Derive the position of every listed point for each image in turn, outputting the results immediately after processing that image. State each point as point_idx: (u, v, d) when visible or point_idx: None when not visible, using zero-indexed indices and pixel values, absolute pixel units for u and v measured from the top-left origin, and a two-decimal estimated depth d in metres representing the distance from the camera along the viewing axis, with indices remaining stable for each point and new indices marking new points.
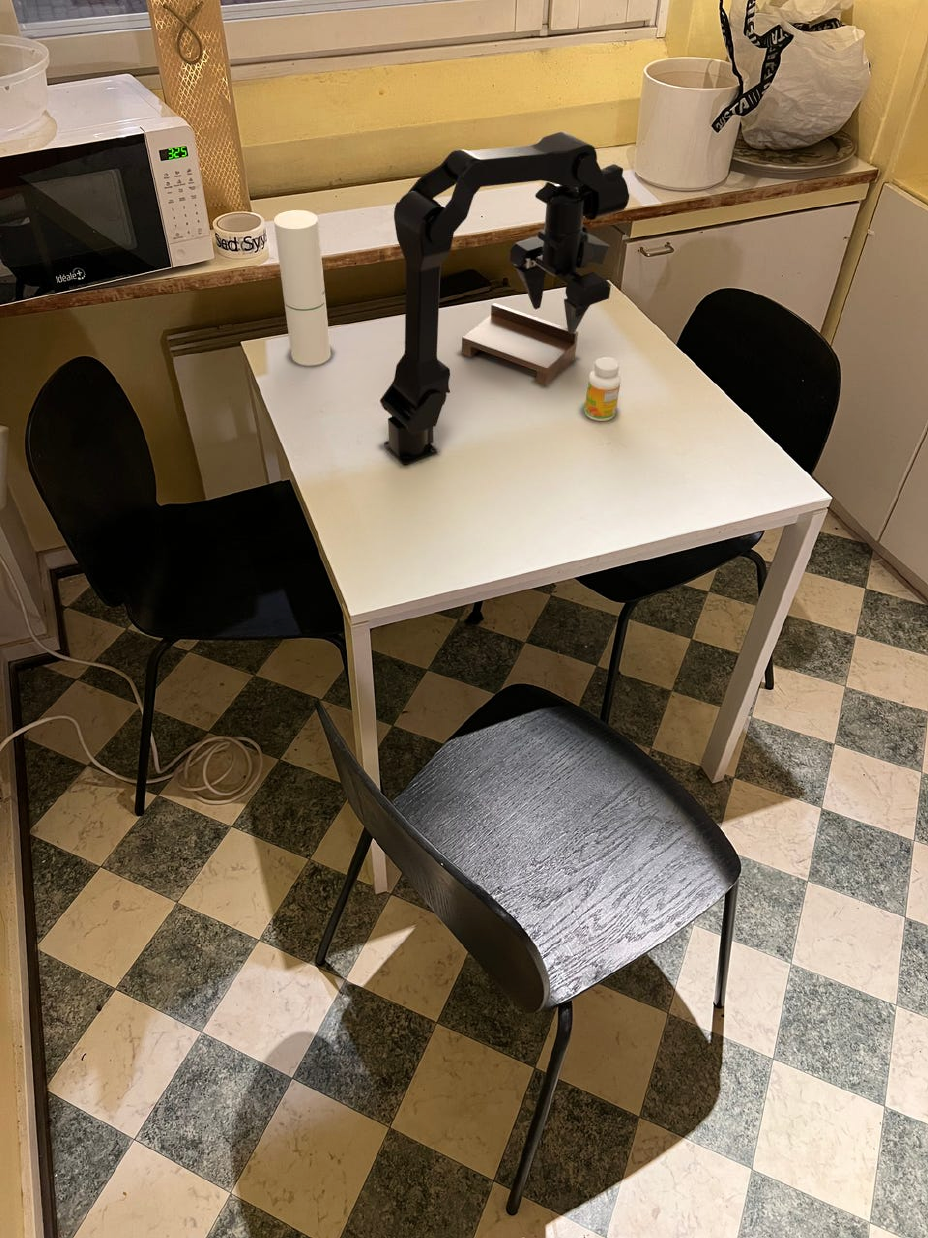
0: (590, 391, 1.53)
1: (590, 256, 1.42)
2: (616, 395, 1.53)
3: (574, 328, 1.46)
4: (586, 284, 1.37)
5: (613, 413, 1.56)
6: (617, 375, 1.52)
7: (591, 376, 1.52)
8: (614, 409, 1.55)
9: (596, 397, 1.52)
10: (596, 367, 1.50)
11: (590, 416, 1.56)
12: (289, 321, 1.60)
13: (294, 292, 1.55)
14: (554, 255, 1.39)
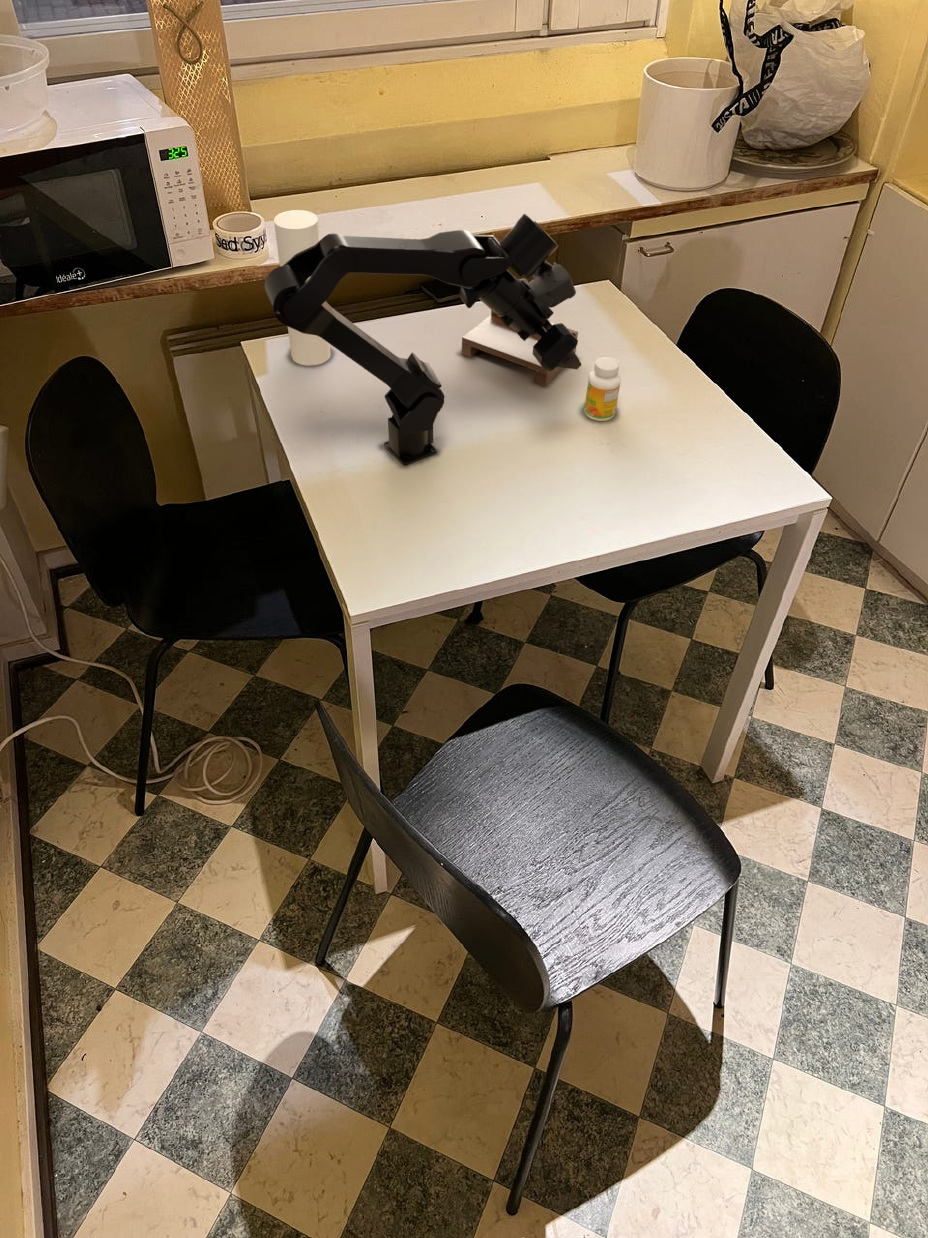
0: (590, 391, 1.53)
1: (550, 303, 1.35)
2: (616, 395, 1.53)
3: (577, 364, 1.42)
4: (544, 350, 1.34)
5: (613, 413, 1.56)
6: (617, 375, 1.52)
7: (591, 376, 1.52)
8: (614, 409, 1.55)
9: (596, 397, 1.52)
10: (596, 367, 1.50)
11: (590, 416, 1.56)
12: None
13: None
14: (513, 326, 1.37)
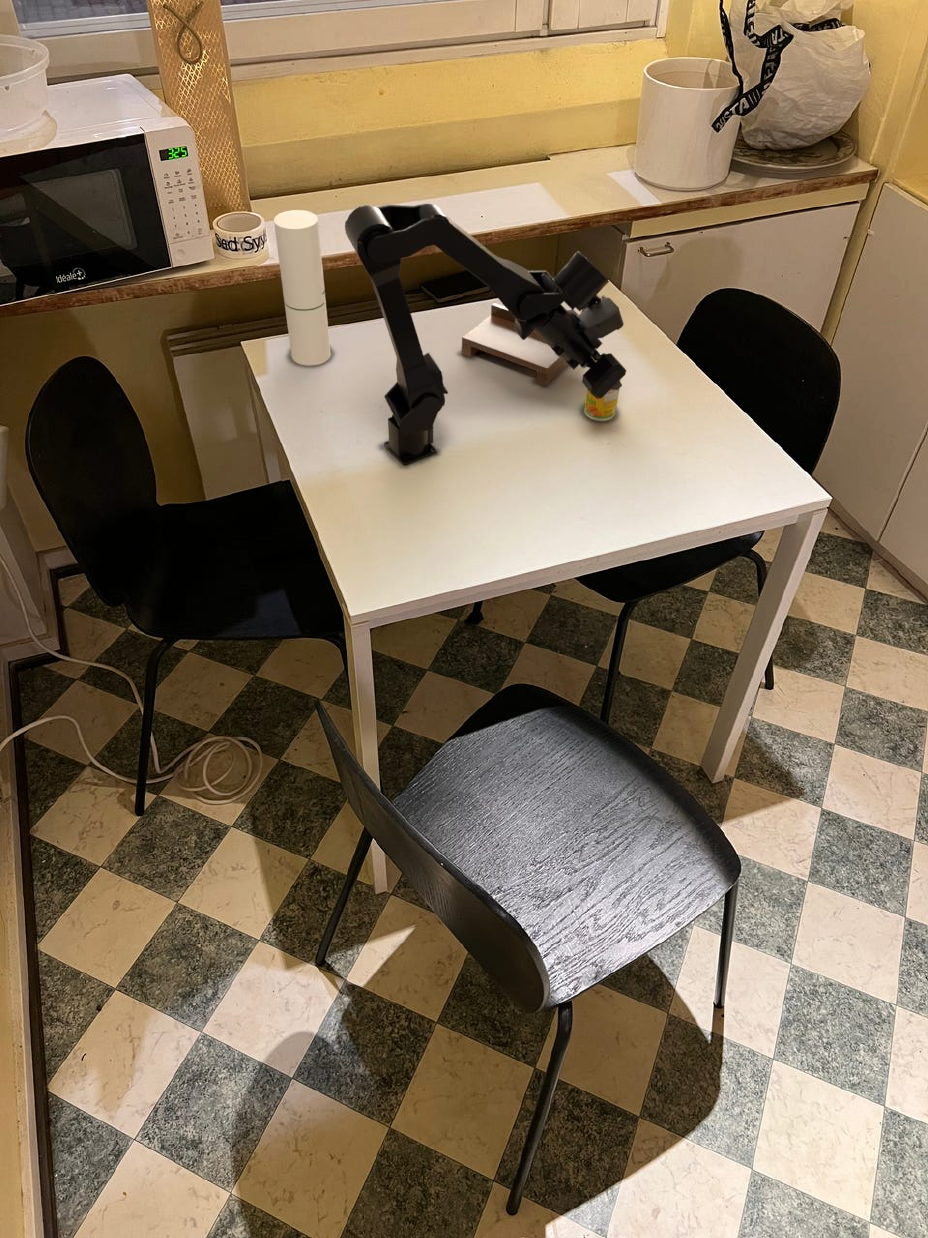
0: None
1: (599, 335, 1.42)
2: (616, 395, 1.53)
3: (617, 385, 1.50)
4: (594, 379, 1.41)
5: (613, 413, 1.56)
6: None
7: None
8: (614, 409, 1.55)
9: None
10: None
11: (590, 416, 1.56)
12: (289, 321, 1.60)
13: (294, 292, 1.55)
14: (563, 356, 1.45)
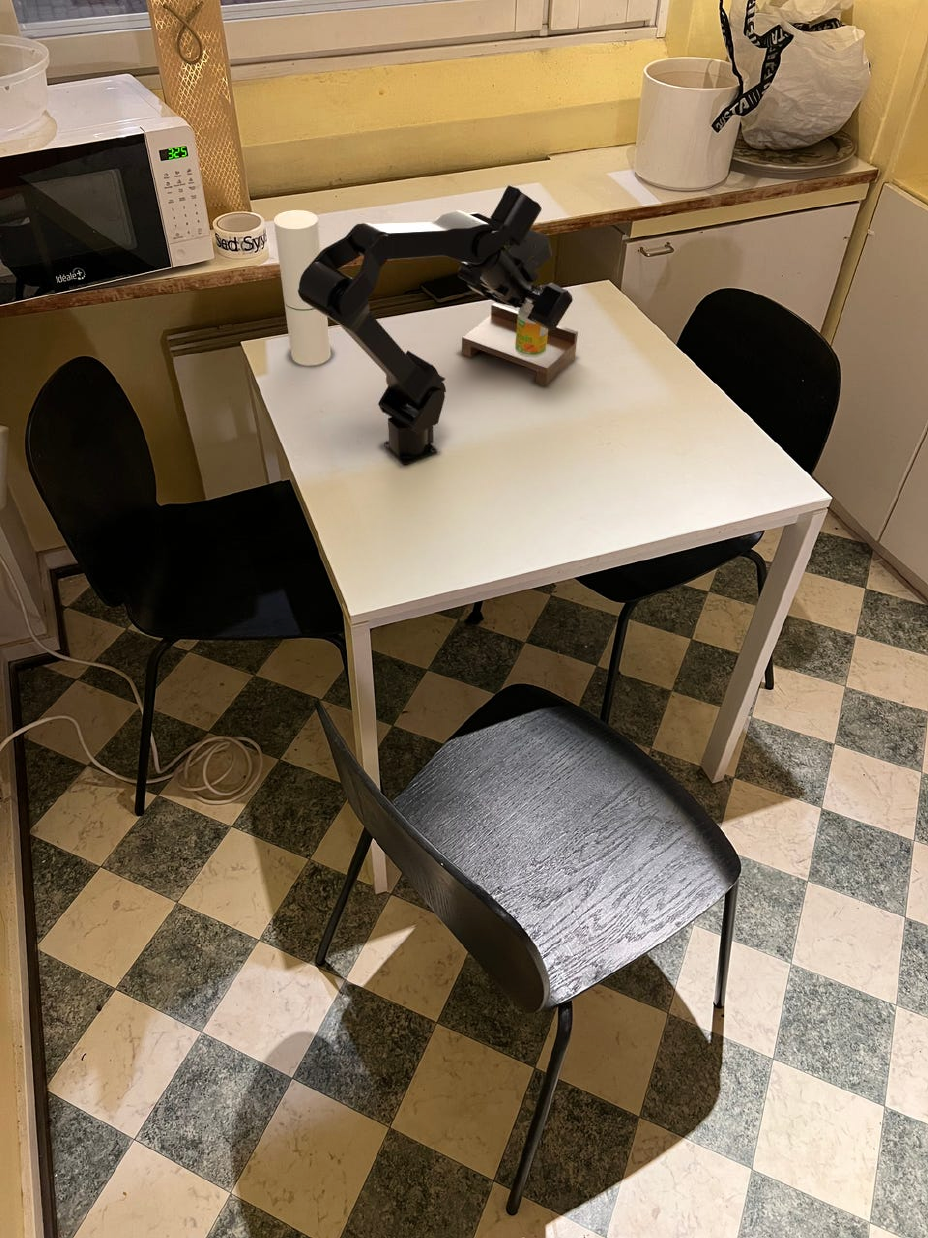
0: (524, 329, 1.53)
1: (536, 267, 1.42)
2: None
3: None
4: (546, 311, 1.41)
5: None
6: None
7: (522, 313, 1.51)
8: (546, 342, 1.56)
9: (531, 333, 1.52)
10: (527, 303, 1.50)
11: (526, 354, 1.56)
12: (289, 321, 1.60)
13: (294, 292, 1.55)
14: (505, 296, 1.43)
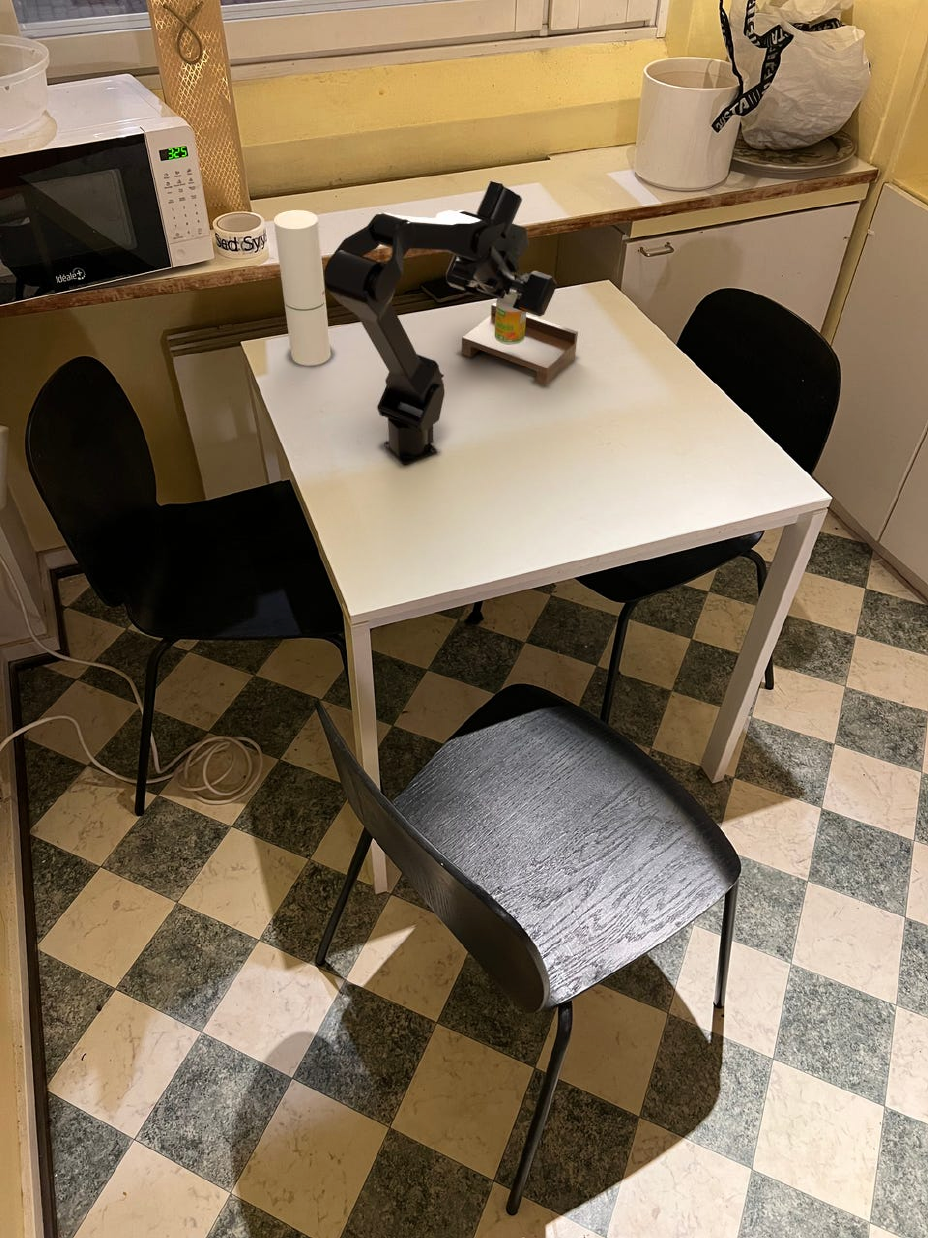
0: (505, 318, 1.57)
1: (518, 257, 1.47)
2: None
3: None
4: (535, 298, 1.47)
5: (524, 332, 1.62)
6: None
7: (502, 303, 1.56)
8: None
9: (513, 321, 1.58)
10: None
11: (508, 342, 1.61)
12: (289, 321, 1.60)
13: (294, 292, 1.55)
14: (493, 288, 1.47)
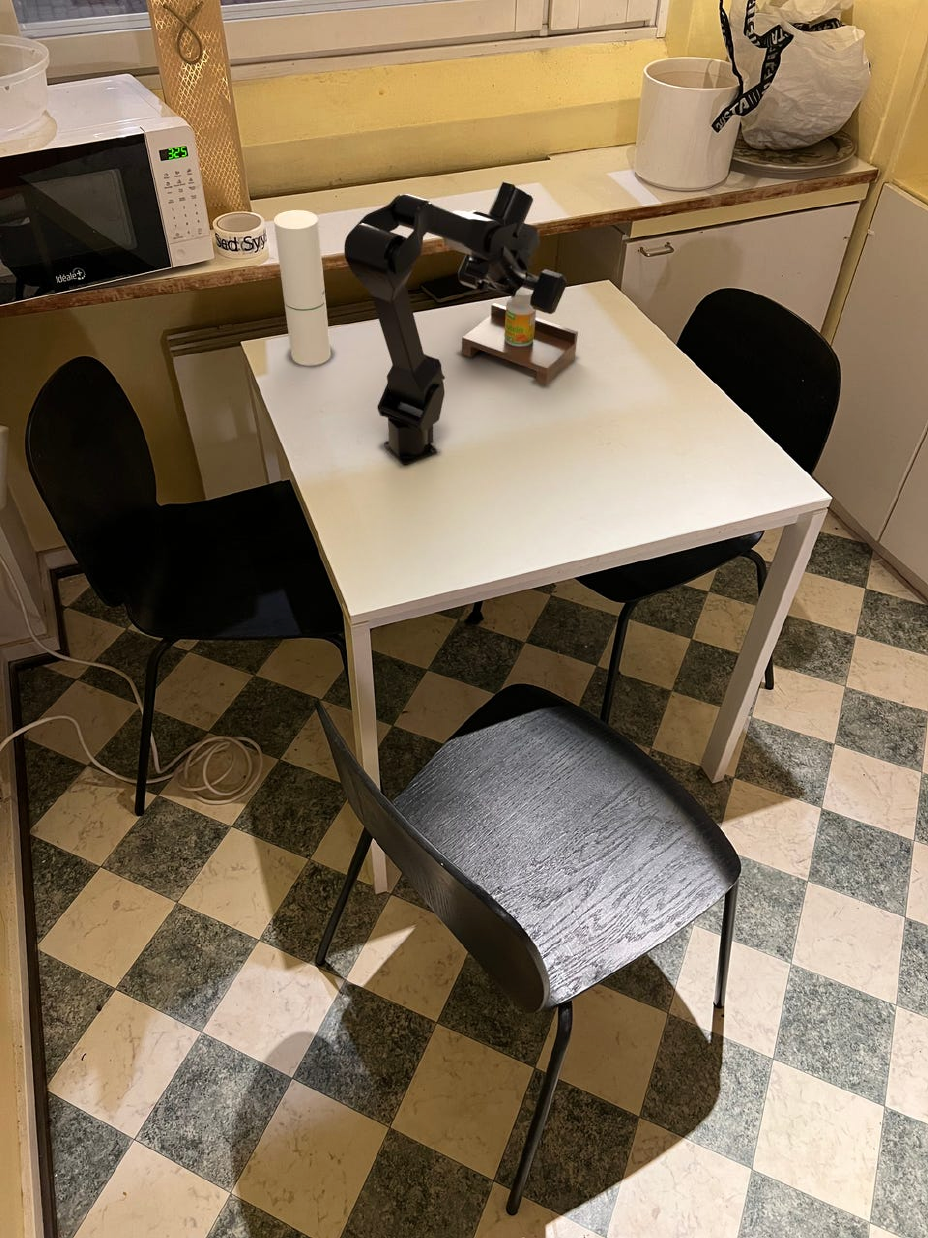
0: (515, 321, 1.61)
1: (529, 256, 1.50)
2: (535, 316, 1.63)
3: None
4: (546, 296, 1.50)
5: (533, 335, 1.66)
6: None
7: (512, 306, 1.60)
8: None
9: (522, 324, 1.61)
10: (517, 296, 1.58)
11: (518, 344, 1.64)
12: (289, 321, 1.60)
13: (294, 292, 1.55)
14: (504, 286, 1.50)
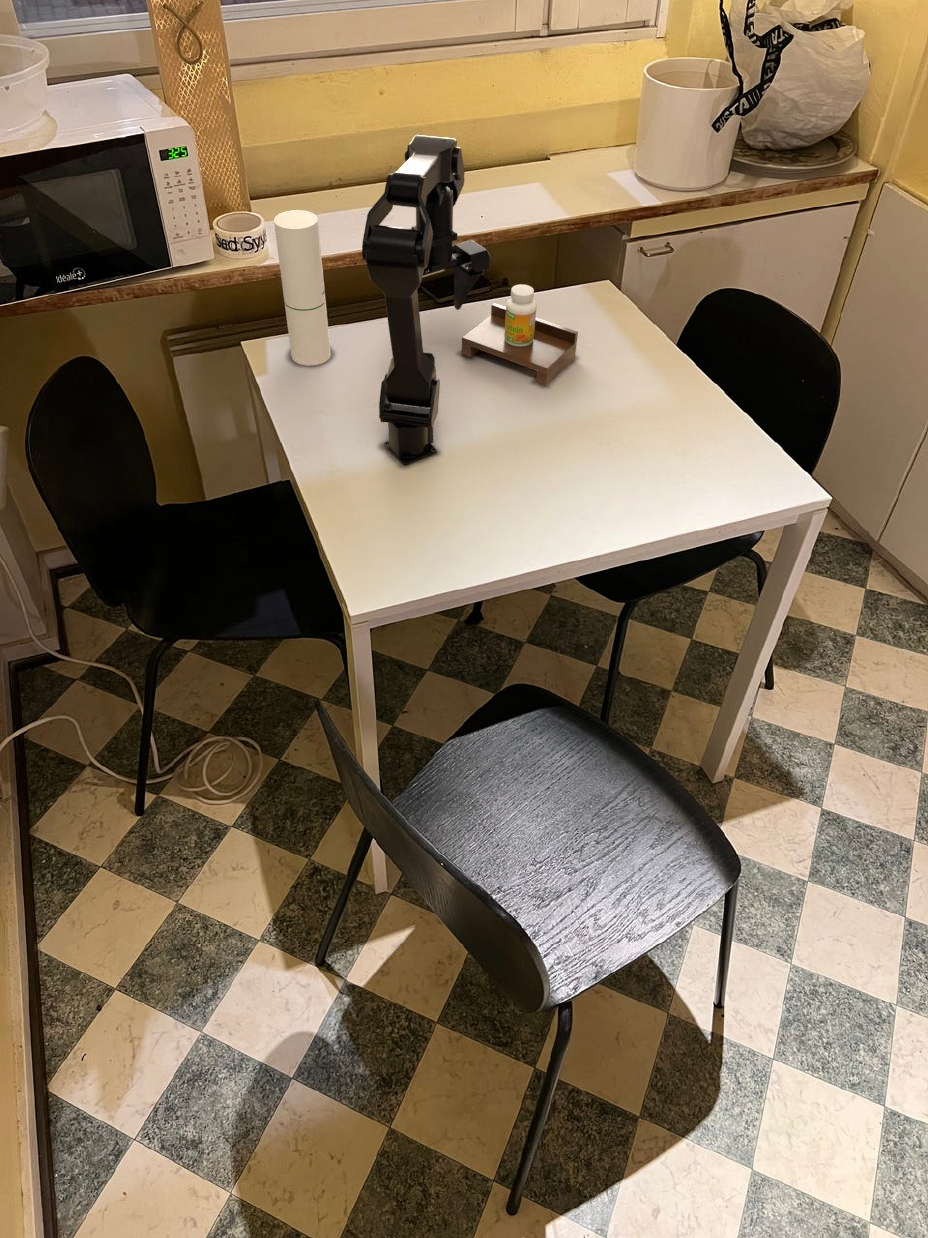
0: (515, 321, 1.61)
1: None
2: (535, 316, 1.63)
3: None
4: (479, 248, 1.48)
5: (533, 335, 1.66)
6: None
7: (512, 306, 1.60)
8: None
9: (522, 324, 1.61)
10: (517, 296, 1.58)
11: (518, 344, 1.64)
12: (289, 321, 1.60)
13: (294, 292, 1.55)
14: (450, 249, 1.43)
